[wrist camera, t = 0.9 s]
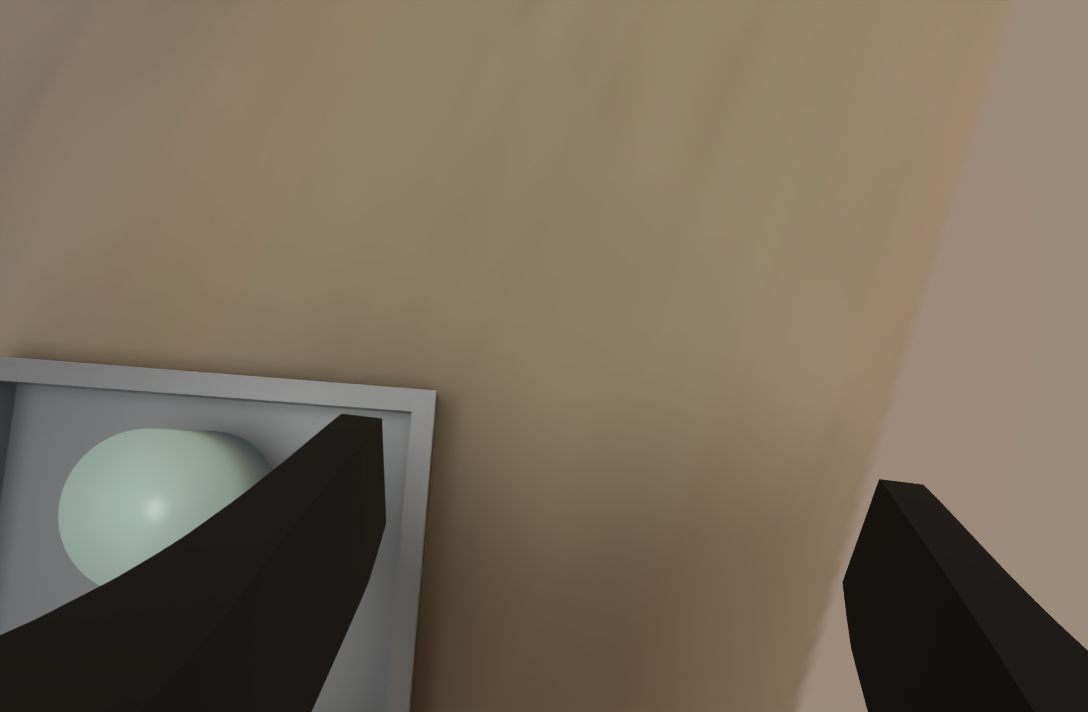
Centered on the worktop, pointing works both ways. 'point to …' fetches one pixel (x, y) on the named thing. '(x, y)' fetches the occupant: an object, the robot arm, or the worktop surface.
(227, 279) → the worktop surface
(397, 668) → the tray
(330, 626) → the robot arm
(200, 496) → the mint green capsule
